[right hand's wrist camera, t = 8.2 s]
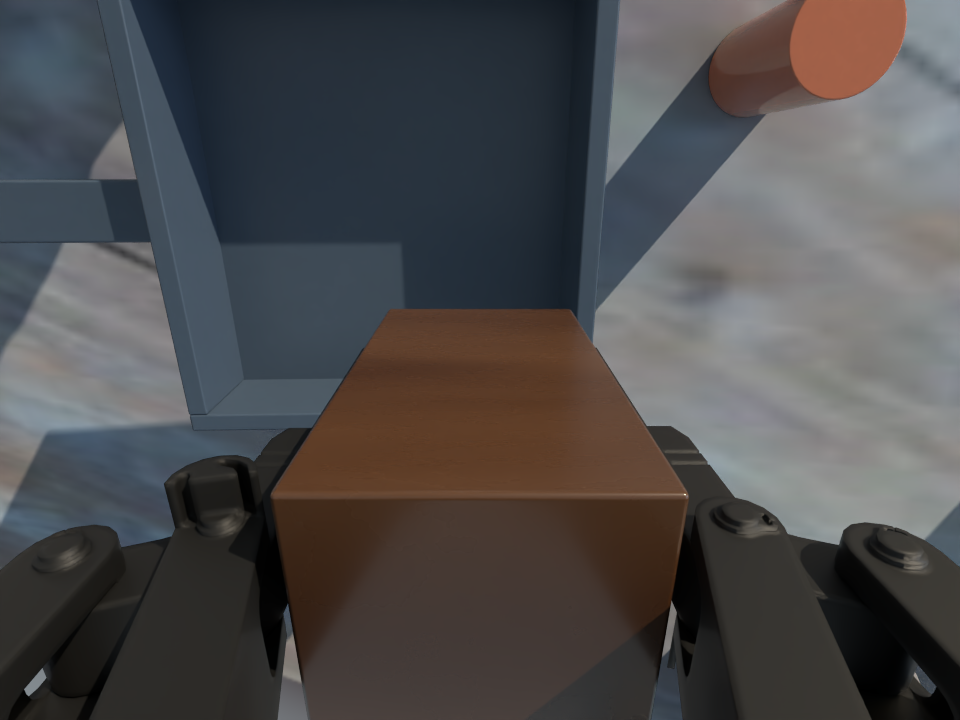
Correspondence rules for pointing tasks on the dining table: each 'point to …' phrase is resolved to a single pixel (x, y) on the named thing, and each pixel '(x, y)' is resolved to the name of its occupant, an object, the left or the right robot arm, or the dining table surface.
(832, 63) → the terracotta cylinder
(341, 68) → the tray
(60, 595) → the right robot arm
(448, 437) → the walnut block
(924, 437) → the dining table surface
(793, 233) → the dining table surface
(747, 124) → the dining table surface
